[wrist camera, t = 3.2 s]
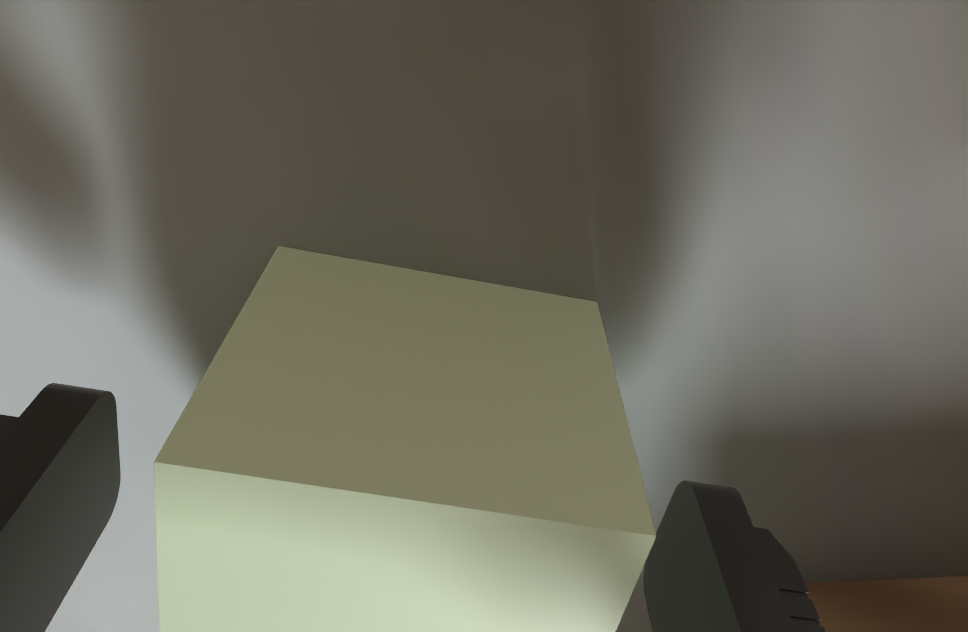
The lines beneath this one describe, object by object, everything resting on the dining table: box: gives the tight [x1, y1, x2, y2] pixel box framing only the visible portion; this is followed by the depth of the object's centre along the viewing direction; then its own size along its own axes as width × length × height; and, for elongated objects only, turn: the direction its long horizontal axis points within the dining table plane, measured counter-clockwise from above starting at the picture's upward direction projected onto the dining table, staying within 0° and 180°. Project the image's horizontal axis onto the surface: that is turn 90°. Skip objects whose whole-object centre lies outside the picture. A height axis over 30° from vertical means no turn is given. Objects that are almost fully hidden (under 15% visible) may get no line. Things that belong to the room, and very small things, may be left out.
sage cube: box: [154, 246, 656, 632], centre depth 11 cm, size 5×5×5 cm
